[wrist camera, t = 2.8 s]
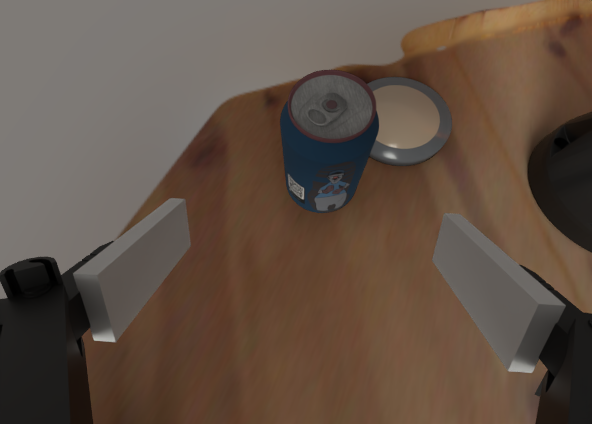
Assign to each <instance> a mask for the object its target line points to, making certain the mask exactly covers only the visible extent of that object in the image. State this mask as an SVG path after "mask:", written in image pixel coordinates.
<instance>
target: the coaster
mask: <svg viewBox="0 0 592 424" xmlns="http://www.w3.org/2000/svg"><path fill="white" fill-rule="evenodd" d="M367 85H368V86H369V87H370V88H371V90H372V92H373V94H374V96H375V99H376V111H377V114H378V118H379V131H378V135H377V138H376V140H375V143H374V145H373V148H372V150H371V153H370V155H369V157H371V158H373V159H375V160H377V161H379V162H382V163H385V164H389V165H395V166H410V165H415V164H419V163H422V162H424V161H426V160H428V159H430V158H431V157H433V156H434V155H435V154H436V153H437V152H438V151H439V150H440V149H441V148H442V146H443V145H444V144H445V142H446V141H447V140H448V137H449V135H450V132H451V128H452V118H451V114H450V111H449V108H448V106H447V105H446V103H445V101H444V100H443V99H442V98H441V97H440V95H439V94H438V93H436V92H435V91H434V90H433V89H431V88H430V87H428V86H426V85H425V84H423V83H420V82H418V81H415V80H412V79H408V78H402V77H387V78H381V79H377V80H374V81H372V82H370V83H368V84H367Z"/></svg>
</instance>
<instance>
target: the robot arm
mask: <svg viewBox="0 0 592 424" xmlns="http://www.w3.org/2000/svg"><path fill="white" fill-rule="evenodd" d="M529 180H530V185H531V189H532V192H533V194H534V197H535V199H536V201H537V203H538V205H539V206H540V208H541V209H542V211H543V212H544V214H545V215H546V216H547V218H548V219H549V220H550V221H551V222H552V224H553V225H554V226H555V227H556V228H557V229H558V230H560V231H561V232H562V233H563V234H564V235H565V236H566V237H568V238H569V239H570V240H572V241H573V242H575V243H576V244H578V245H579V246H581V247H583V248H584V249H586V250H588V251H590V252H592V112H589V113H587V114H584V115H582V116H579V117H576V118H574V119H572V120H570V121H568V122H566V123H564V124H563V125H561V126H560V127H558V128H557V129H556V130H554V131H553V132H552V133H550V134H549V135H548V136H546V137H545V138H544V139H543V140H542V141H541V142H540V143H539V144H538V145H537V146H536V148H535V149H534V151H533V153H532V155H531V158H530V163H529ZM190 246H191V244H190V236H189V227H188V219H187V211H186V202H185V199H176V198H170V199H169V200H167V201H166V202H165V203H164V204H162V205H161V206H160V207H158V208H157V209H156V210H154V211H153V212H152V213H151V214H149V215H148V216H147V217H145V218H144V219H143V220H142V221H140V222H139V223H138V224H136V225H135V226H134V227H132V228H131V229H130V230H129V231H127V232H126V233H125V234H123V235H122V236H121V237H120V238H118V239H117V240H116V241H111V242H109V243H107V244H105V245H102V246H100V247H99V248H97V249H96V250H94V251H93V252H92V253H91V254H90V255H88V256H86V257H85V258H84V259H82V261H80V262H78V263H77V264H76V265H75V266H73V267H72V268H70V269H69V270H68V271H66V272H65V273H64V274H62V275H61V274H60V271H59V269H58V265H57V262H56V261H55V259H54V258H51V257H36V258H30V259H26V260H23V261H19V262H17V263H15V264H12V265H11V266H8V267H7V268H5V269H4V270H2V271H1V273H0V282H1V284H2V286H3V288H4V291H5V293H6V295H7V297H8V298H6V299H0V424H93V419H92V410H91V401H90V392H89V384H88V375H87V366H86V357H85V348H84V343H83V340H82V337H81V336H82V335H83V334H84V333H85V332H86V331H87V330H88V329H89V328H90V329H91V332H92V336H93V339H94V341H108V342H116V341H117V340H118V339H119V337H120V336H121V335H122V333H123V332H124V331H125V330H126V328H127V327H128V326H129V324H130V323H131V322H132V321H133V319H134V318H135V317H136V315H137V314H138V313H139V312H140V310H141V309H142V308H143V306H144V305H145V304H146V303H147V301H148V300H149V299H150V297H151V296H152V295H153V294H154V292H155V291H156V290H157V288H158V287H159V286H160V285H161V283H162V282H163V281H164V279H165V278H166V277H167V276H168V274H169V273H170V272H171V270H172V269H173V268H174V267H175V265H176V264H177V263H178V261H179V260H180V259H181V258H182V256H183V255H184V254H185V252H186V251H187V250H188V249H189V247H190ZM432 261H433V262H434V264H435V265H436V267H437V268H438V270H439V271H440V273H441V274H442V276H443V277H444V279H445V280H446V281H447V283H448V284H449V286H450V287H451V289H452V290H453V292H454V293H455V295H456V296H457V297H458V299H459V300H460V302H461V303H462V305H463V306H464V308H465V309H466V311H467V312H468V314H469V315H470V316H471V318H472V319H473V321H474V322H475V324H476V325H477V327H478V328H479V330H480V331H481V332H482V334H483V335H484V337H485V338H486V340H487V341H488V343H489V344H490V346H491V347H492V349H493V350H494V351H495V353H496V354H497V356H498V357H499V359H500V360H501V362H502V363H503V365H504V366H505V367H506V369H507V370H508V371H514V372H528V373H532V372H533V370H534V368H535V366H536V364H537V362H538V360H539V359H540V360H541V361H542V363H543V364H544V365H545V366H546V367H547V369H548V370H547V372H546V374H545V376H544V378H543V380H542V382H541V384H540V385H539V387H538V389H537V391H536V393H535V395H537V396H540V401H539V407H538V413H537V418H536V424H592V314H590V313H583V312H582V311H580V310H579V309H578V308H577V307H576V306H574V305H573V304H572V303H571V302H570V301H568V300H567V299H566V298H565V297H564V296H562V295H561V294H560V293H559V292H558V291H556V290H554V288H553V287H552V286H551V285H549V284H548V283H546V281H545V280H543V279H542V278H541V277H540V276H539V275H537V274H536V273H535V272H533V271H531V270H529V269H528V268H526V267H524V266H522V265H518V264H517V263H516V262H515V261H514V260H513V259H511V258H510V257H509V256H508V255H507V254H506V253H504V252H503V251H502V250H501V249H500V248H499V247H498V246H496V245H495V244H494V243H493V242H492V241H491V240H489V239H488V238H487V237H486V236H485V235H484V234H482V233H481V232H480V231H479V230H478V229H477V228H476V227H474V226H473V225H472V224H471V223H470V222H469V221H467V220H466V219H465V218H464V217H463V216H462V215H460V214H450V213H444V216H443V220H442V224H441V228H440V232H439V235H438V239H437V243H436V247H435V251H434V255H433V259H432Z"/></svg>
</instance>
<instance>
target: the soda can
mask: <svg viewBox="0 0 592 424" xmlns="http://www.w3.org/2000/svg"><path fill="white" fill-rule="evenodd" d="M280 126H281V136H282V146H283V156H284V166H285V177H286V186H287V189H288V192H289V194H290V196H291V197H292V199H293V200H294V201H295V202H296V203H297V204H298V205H299V206H301V207H302V208H304V209H306V210H309V211H312V212H317V213H328V212H332V211H335V210H338V209H340V208H342V207H343V206H345V205H346V204H347V203H348V202H349V201H350V200H351V198H352V197H353V195H354V193H355V191H356V188H357V186H358V183H359V180H360V178H361V175H362V173H363V170H364V168H365V165H366V163H367V160H368V158H369V155H370V153H371V150H372V148H373V145H374V143H375V140H376V138H377V135H378V131H379V118H378V114H377V111H376V99H375V96H374V94H373V92H372V90H371V88H370V87H369V86H368V85H367V84H366V83H365V82H364V81H363V80H362V79H360V78H359V77H357V76H355V75H353V74H350V73H348V72H344V71H339V70H322V71H316V72H313V73H311V74H308V75H307V76H305V77H303V78H302V79H301V80H299V81H298V82H297V83H296V84H295V86H294V87H293V89H292V90H291V92H290V94H289V98H288V101H287V102H286V104H285V106H284V108H283V110H282V113H281V119H280Z"/></svg>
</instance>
